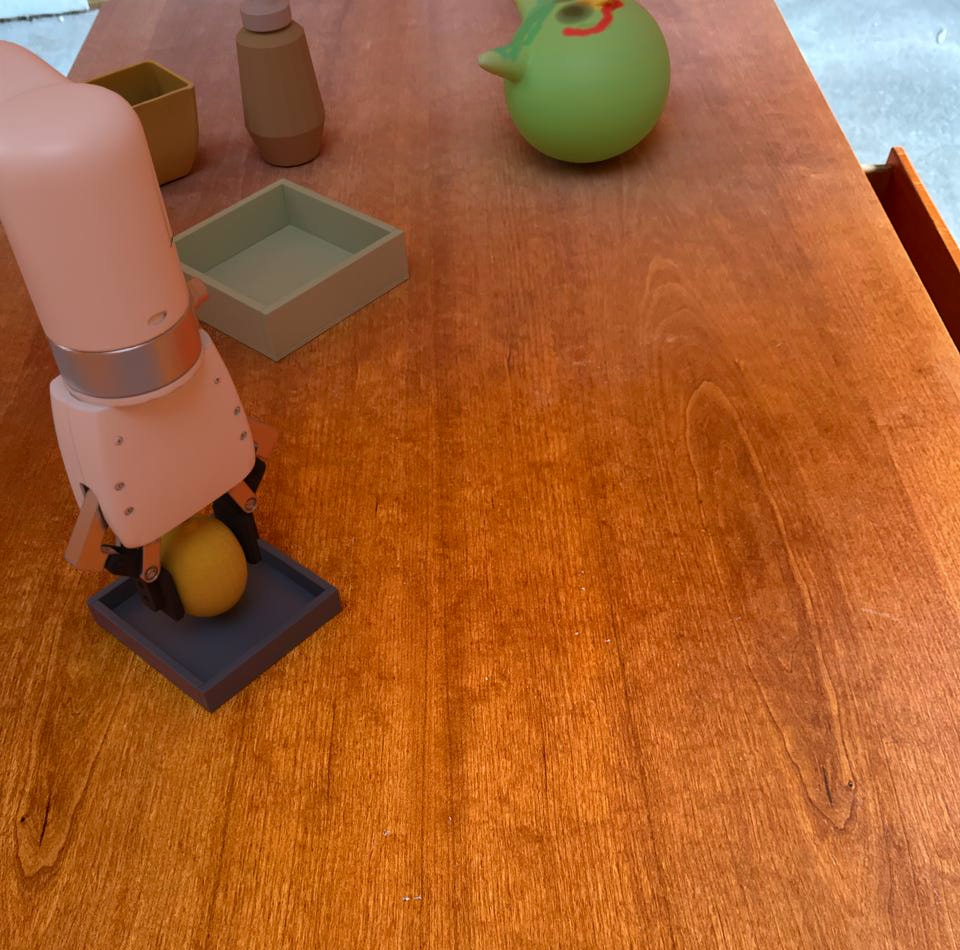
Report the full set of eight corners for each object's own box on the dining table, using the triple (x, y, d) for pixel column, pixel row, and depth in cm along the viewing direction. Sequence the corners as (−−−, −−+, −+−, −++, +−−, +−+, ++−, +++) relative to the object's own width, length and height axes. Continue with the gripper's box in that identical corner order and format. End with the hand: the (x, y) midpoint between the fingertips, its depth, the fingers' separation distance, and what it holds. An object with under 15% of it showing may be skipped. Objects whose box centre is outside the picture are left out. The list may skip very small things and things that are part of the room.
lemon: (274, 596, 78) (250, 507, 72) (222, 653, 75) (192, 564, 69) (209, 569, 80) (180, 479, 74) (155, 622, 77) (121, 534, 71)
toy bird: (660, 195, 110) (670, 31, 99) (482, 191, 113) (473, 30, 102) (670, 107, 122) (680, -49, 111) (508, 105, 124) (503, -48, 113)
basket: (159, 297, 104) (145, 251, 100) (291, 223, 111) (282, 177, 107) (276, 362, 96) (265, 314, 93) (409, 277, 103) (404, 230, 100)
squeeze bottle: (280, 182, 116) (241, -15, 103) (236, 154, 120) (195, -38, 107) (346, 153, 119) (318, -41, 106) (302, 127, 124) (269, -63, 110)
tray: (94, 620, 78) (85, 600, 77) (224, 529, 83) (218, 508, 82) (211, 714, 72) (203, 693, 71) (343, 609, 77) (338, 588, 76)
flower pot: (173, 145, 123) (150, 56, 116) (217, 174, 118) (195, 83, 111) (98, 175, 119) (69, 85, 112) (139, 206, 115) (112, 114, 108)
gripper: (208, 247, 68) (268, 486, 81) (-56, 393, 60) (60, 631, 73) (295, 291, 64) (343, 533, 78) (28, 453, 56) (133, 691, 70)
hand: (205, 578), depth 75 cm, fingers closed on lemon, 5 cm apart
